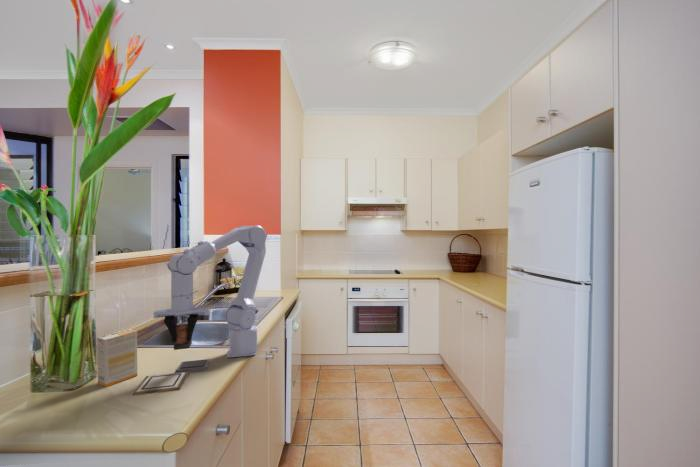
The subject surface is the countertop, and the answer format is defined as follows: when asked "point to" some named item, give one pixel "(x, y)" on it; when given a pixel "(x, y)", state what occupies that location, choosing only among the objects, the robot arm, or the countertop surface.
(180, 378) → the board
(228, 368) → the countertop surface
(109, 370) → the supplement box
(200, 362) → the ink pad
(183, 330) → the stamp
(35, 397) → the countertop surface
